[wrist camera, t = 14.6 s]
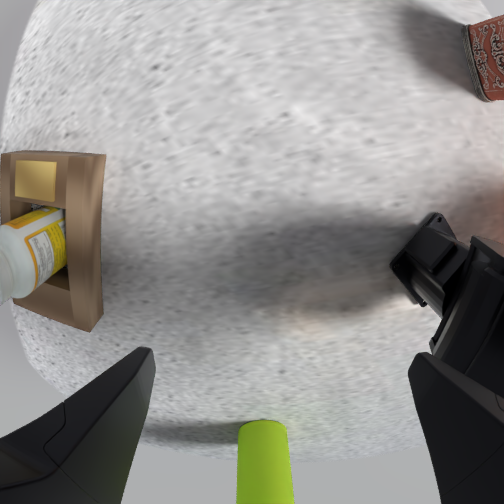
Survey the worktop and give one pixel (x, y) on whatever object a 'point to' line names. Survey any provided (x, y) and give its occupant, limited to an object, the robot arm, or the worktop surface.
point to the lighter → (486, 57)
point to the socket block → (77, 227)
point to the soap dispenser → (264, 464)
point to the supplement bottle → (31, 251)
